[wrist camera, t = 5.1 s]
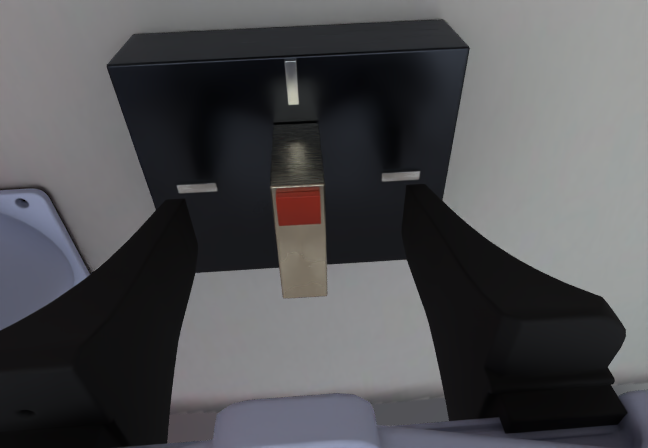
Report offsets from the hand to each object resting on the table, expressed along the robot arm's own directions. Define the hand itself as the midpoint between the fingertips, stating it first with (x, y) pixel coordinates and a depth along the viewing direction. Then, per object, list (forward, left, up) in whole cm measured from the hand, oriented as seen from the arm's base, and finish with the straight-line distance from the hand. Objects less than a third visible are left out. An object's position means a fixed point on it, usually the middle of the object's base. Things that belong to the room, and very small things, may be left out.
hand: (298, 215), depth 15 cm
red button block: (0, 0, -2) cm, 2 cm away
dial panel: (0, 0, -5) cm, 5 cm away
